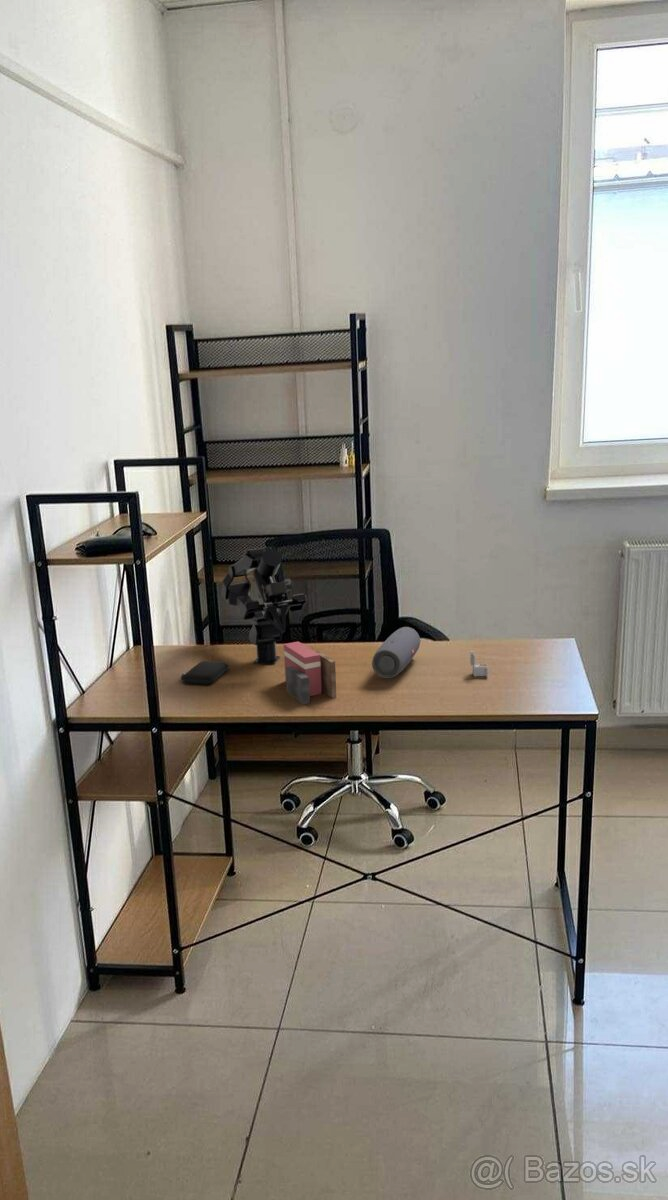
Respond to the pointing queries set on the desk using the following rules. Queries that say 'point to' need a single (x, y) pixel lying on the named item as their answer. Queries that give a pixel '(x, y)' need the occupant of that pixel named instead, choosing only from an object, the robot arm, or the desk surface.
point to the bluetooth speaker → (396, 652)
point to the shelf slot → (300, 681)
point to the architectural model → (476, 669)
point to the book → (304, 664)
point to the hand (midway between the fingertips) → (283, 631)
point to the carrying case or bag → (205, 673)
